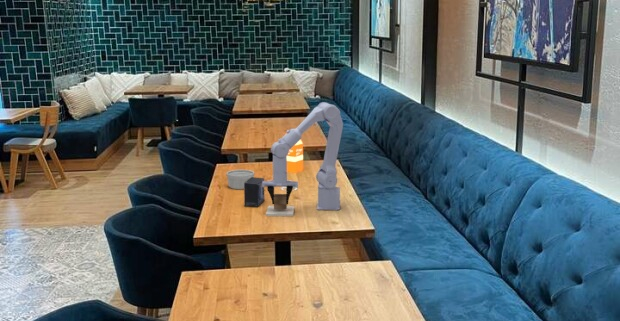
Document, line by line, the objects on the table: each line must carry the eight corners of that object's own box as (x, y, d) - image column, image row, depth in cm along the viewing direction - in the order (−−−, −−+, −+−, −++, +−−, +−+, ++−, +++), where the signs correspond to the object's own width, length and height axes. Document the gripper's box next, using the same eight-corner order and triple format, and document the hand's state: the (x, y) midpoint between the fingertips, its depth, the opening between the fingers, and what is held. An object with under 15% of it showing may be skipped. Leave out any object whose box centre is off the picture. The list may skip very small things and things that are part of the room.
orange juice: (295, 173, 310) (294, 135, 306) (281, 170, 315) (280, 133, 310) (303, 170, 316) (303, 133, 312) (289, 168, 321) (289, 131, 317)
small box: (258, 207, 251) (258, 183, 248) (243, 206, 252) (243, 182, 250) (265, 200, 261) (265, 177, 258) (251, 199, 262) (250, 176, 260)
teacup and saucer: (296, 186, 285) (296, 178, 284) (301, 190, 278) (301, 182, 277) (278, 188, 282) (278, 179, 282) (283, 192, 275) (283, 183, 274)
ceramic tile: (294, 208, 249) (294, 205, 249) (293, 216, 239) (293, 213, 239) (268, 208, 250) (268, 205, 250) (265, 216, 239) (265, 213, 239)
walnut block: (286, 205, 246) (286, 194, 245) (286, 209, 241) (286, 197, 240) (274, 205, 246) (274, 194, 245) (273, 209, 241) (273, 197, 240)
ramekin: (257, 183, 289) (257, 169, 288) (250, 190, 276) (250, 176, 275) (231, 182, 291) (231, 168, 290) (223, 189, 279) (222, 175, 277)
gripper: (261, 173, 237) (261, 206, 240) (297, 174, 236) (297, 206, 239) (262, 169, 244) (263, 201, 247) (298, 169, 243) (298, 201, 246)
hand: (280, 203), depth 243 cm, fingers closed on walnut block, 5 cm apart
